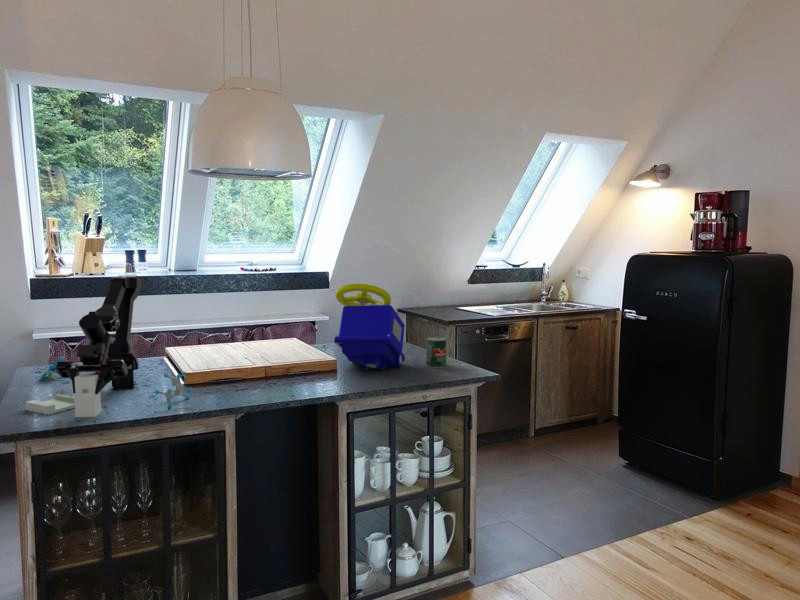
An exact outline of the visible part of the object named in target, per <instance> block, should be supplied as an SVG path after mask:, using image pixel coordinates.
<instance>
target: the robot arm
mask: <svg viewBox="0 0 800 600" xmlns="http://www.w3.org/2000/svg"><path fill="white" fill-rule="evenodd" d="M142 285H143V282H142V279H141V278H139V276H138V275H118V276H113V277H110V279H109V287H108V289H107V293H106V295H105V298H104V301H103V303H102V305H101V307H99V308H98V309H96V310H93V311H90V310H89V311H88V314H86V315H83V316H82V317H81V319H79V321H78V325H79V327H80V329H81V331H82V333H83V334H84V336H85V338H86V339H88V340H89V341H88V344H78V345H77V348H76V354H75V356H76V357H77V358H79V362H80V363H81V364H77V363H74V361H73V360H62V361H58V360H57V361H58V362H57V363H56V366H55V369H56V370H57V372H58V373H59V376H60V377H61V378H63V379H70V380H71V385H72V393H73V394H74V393H75V378H74V377H76V376H78V375H80V373H84V372H86V373H93V372H94V373H95V372H100V375H99V376H98V383H97V386H96V389H95V394H98V393H99V392H100V393H101V391H102V390H103V389H104V388H105V387H106V386H107V385H108V384H110V382H111V387H112V390H113V391H114V390H128V389H129V390H130V389H134V388H135V386H136V382H135V371H137V370H139V365H140V364H139V360H138V358H137V356H136V354H135V348H134V347H133V345H132V343H131V335H132V325H133V324H132V323H133V322H132V321H133V311H134V302H135V300H137V298H138V297H139V296H140V292H141V289H142ZM110 333H115V334H114V335H115V336H114V340H112V335H111V334H110ZM112 341H113V342H112ZM105 360H106V363H107V365H104V364H105Z"/></svg>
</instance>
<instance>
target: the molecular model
mask: <svg viewBox="0 0 800 600" xmlns="http://www.w3.org/2000/svg"><path fill="white" fill-rule="evenodd" d="M186 375H187V372H186V371H182V374H180V373H178V374H176V376H174V377H171V376H169V375H168V373H164V374H163V377H164V378H168V379H170V380H171V382H172V383H171V385H172V387H175V389H174V390H173V389H171V388H168V389H167V390H166V391H165V392H161V391H160V390H159V389H156V390H155V391H154V392H155V394H156V395H159V394H160V395H163V396H164V398H165V399H166V401H167V408H168V409H171V408H172V406H173V405H172V403H171V400H172V399H173V398H174V397H175V396H176V397H178V396H183V397H185V400H189V399H190V396H189V395H185V393H182V391H183V390H186V391H189V393H190V392H193V390H194V389H193V388H192V387H189V388H188V387H185V386H184V384H182V383H181V378H182V377H184V376H186Z"/></svg>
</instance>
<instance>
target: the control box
mask: <svg viewBox="0 0 800 600" xmlns="http://www.w3.org/2000/svg"><path fill="white" fill-rule="evenodd" d="M351 292H358V293H356V294H355V295H354V296H353V295H352V296H344V295H345V294H346V293H351ZM371 294H373V295H376V296H378V297H380V298H381V299H382V301H379V300H376V299H373V298H372V295H371ZM335 298H336V300H337V302H339V303H340V304H341V305H342V306H343V307H342V312H341V319H340V325H339V331H338V334H336V335H335V336H334V339H333V342H334V344H335V345H336V346H337V347H338V348H340V350H341V352H342V354H343V355H344V356H345V357H346V358H347V361H348V362H350V363H352V364H356V365H357V364H360V365H363V370H370V369H378V370H383V371H384V370H385V371H386V368H387V367H388V368H401V367H402V366H403V362H405V358H406V357H405V354H404V352H403V347H404V345H403V344H404V335H405V327H406V326H405V323H404V322H403V320H402V319H401V317H400V316H399V314H398V313H397V311H396V310H395V309H394V307H393V306H392V305H391V303H392V296H391V295H390V294H389V292H388V291H387V290H384V288H381V287H379V286H376V285H373V284H367V283H360V282H358V283H347V284H344V285H341V286H339V287H338V288H337V290H336V291H335Z"/></svg>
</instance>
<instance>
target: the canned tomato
mask: <svg viewBox="0 0 800 600" xmlns="http://www.w3.org/2000/svg"><path fill="white" fill-rule="evenodd" d="M425 348H426V358H425V359H426V360H425V362H426V364H425V366H426V367H428V368H432V369H434V368H435V369H441V368H445V367H446V366H447V365H446V364H447V338H446V337H442V336H428V337H427V338H426V347H425Z"/></svg>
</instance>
